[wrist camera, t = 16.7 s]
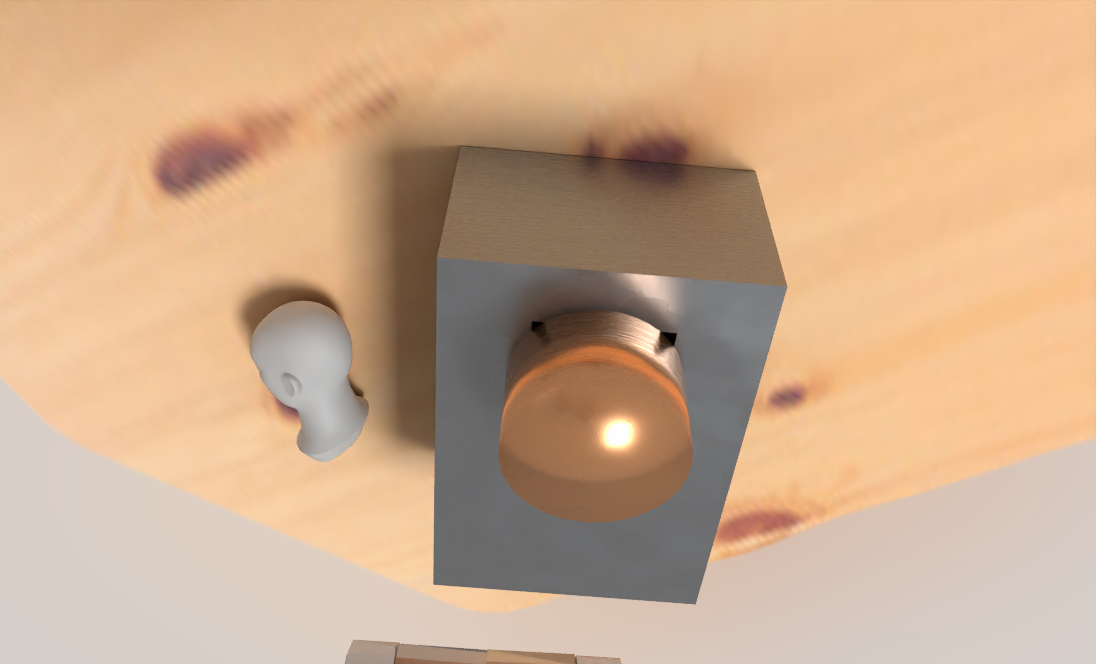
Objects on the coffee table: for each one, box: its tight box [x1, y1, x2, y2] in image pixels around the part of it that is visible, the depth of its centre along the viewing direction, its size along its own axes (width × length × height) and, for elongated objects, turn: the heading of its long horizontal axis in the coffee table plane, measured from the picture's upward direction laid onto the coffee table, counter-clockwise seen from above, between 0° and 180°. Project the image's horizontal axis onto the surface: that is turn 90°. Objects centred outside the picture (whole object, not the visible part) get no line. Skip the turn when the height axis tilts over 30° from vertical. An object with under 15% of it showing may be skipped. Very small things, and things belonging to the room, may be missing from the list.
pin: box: [499, 310, 693, 523], centre depth 37 cm, size 7×7×11 cm
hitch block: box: [433, 146, 787, 604], centre depth 42 cm, size 12×18×8 cm, turn 176°
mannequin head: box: [250, 301, 369, 462], centre depth 45 cm, size 4×8×5 cm
